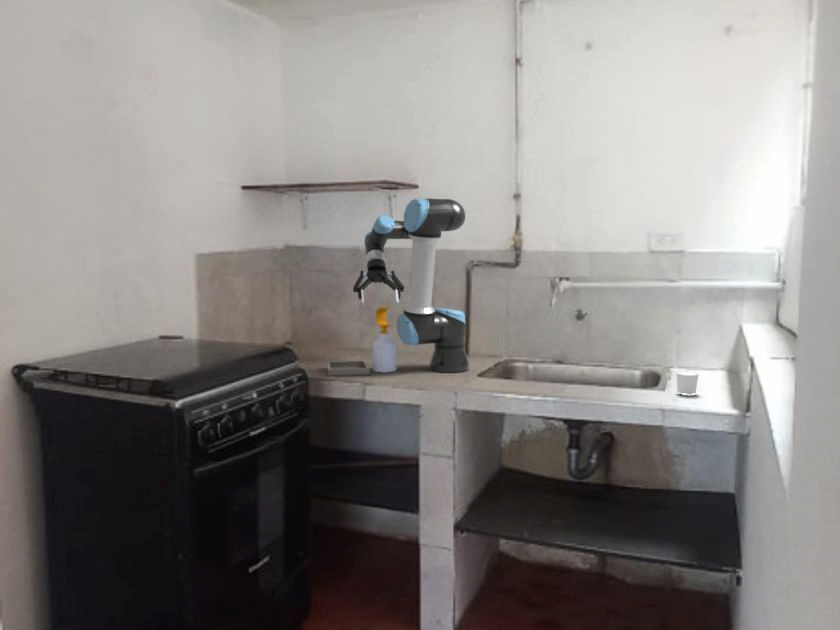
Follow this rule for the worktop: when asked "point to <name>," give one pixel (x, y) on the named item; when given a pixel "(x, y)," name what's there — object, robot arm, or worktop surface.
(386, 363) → the soap bottle
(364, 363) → the tray
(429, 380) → the worktop surface
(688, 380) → the white cup
